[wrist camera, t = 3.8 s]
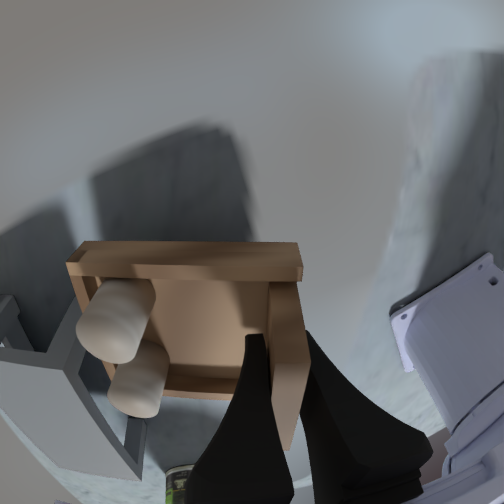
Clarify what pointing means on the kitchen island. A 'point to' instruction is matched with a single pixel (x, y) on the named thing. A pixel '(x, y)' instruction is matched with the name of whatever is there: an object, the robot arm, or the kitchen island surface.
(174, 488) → the coffee can
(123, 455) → the shelf
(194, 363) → the tray
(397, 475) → the robot arm
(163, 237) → the kitchen island surface
